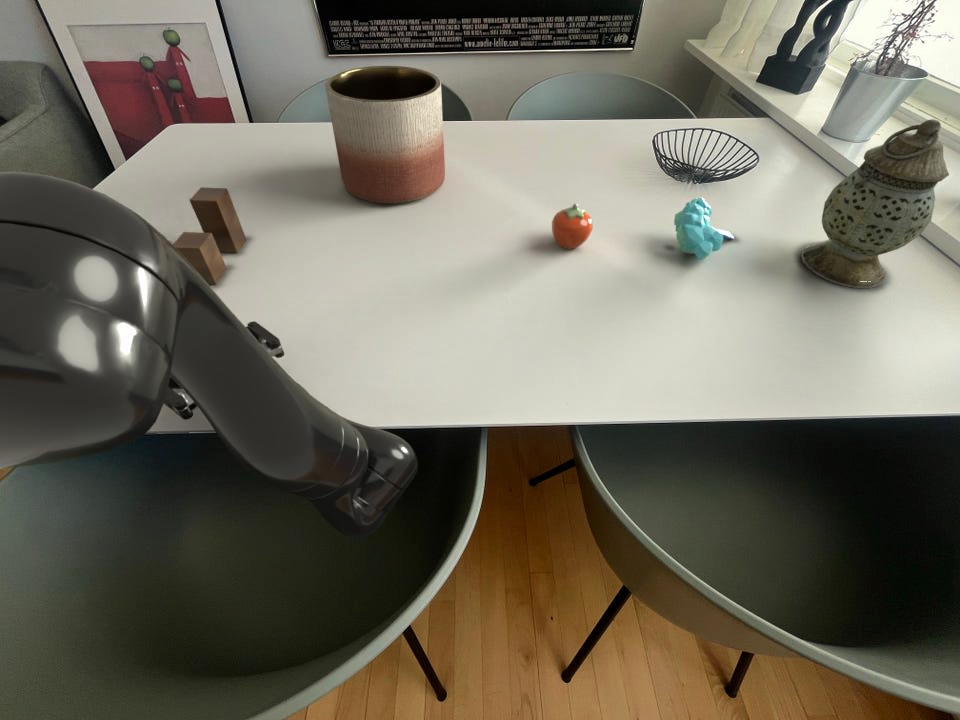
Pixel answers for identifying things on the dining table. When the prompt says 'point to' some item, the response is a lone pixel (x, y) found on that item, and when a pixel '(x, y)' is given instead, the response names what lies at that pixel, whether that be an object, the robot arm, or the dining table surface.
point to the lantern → (879, 207)
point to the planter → (388, 132)
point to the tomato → (571, 227)
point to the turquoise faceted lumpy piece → (698, 229)
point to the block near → (202, 255)
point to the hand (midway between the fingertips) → (187, 341)
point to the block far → (219, 218)
